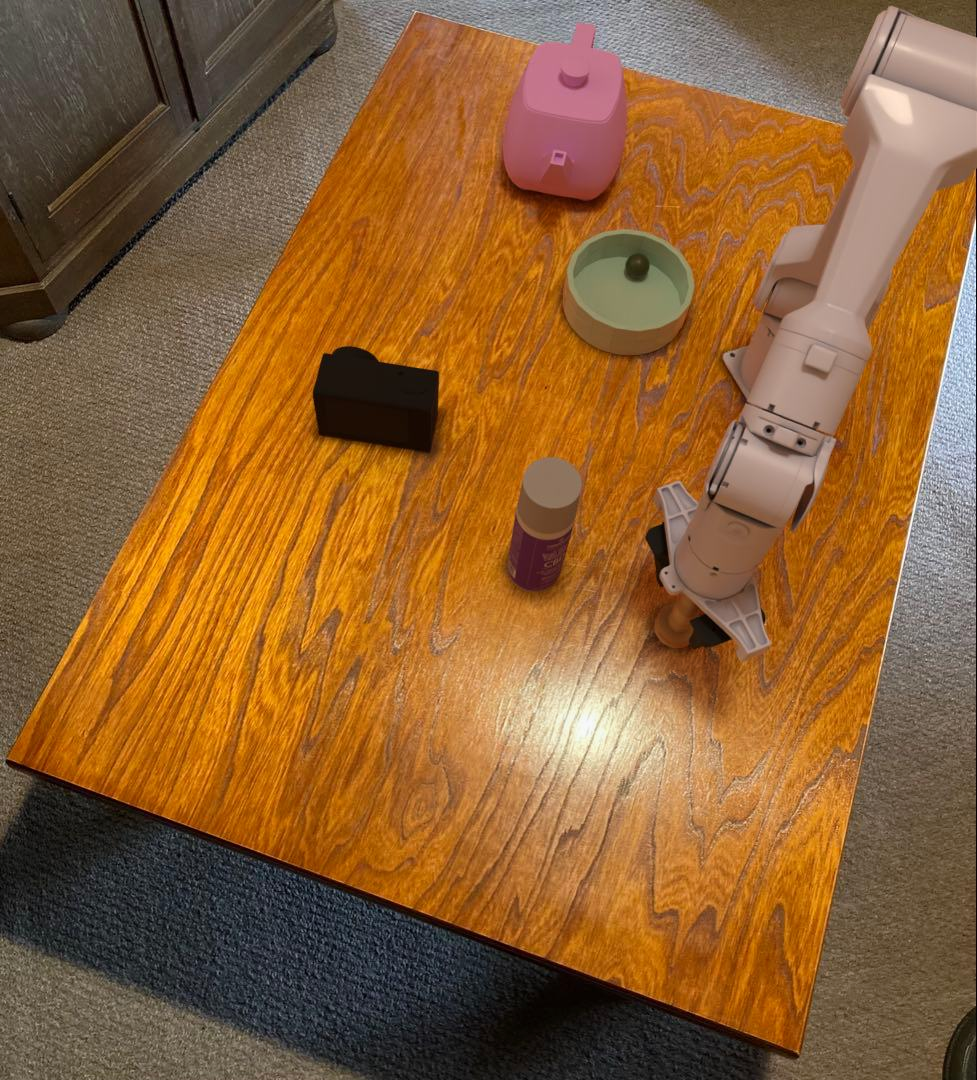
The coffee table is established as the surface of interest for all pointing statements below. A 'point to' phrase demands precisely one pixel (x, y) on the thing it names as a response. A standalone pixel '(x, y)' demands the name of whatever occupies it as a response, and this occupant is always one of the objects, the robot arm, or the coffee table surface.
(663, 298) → the bowl
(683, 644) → the brown piece
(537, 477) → the container
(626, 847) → the coffee table surface
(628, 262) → the olive
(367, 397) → the digital camera
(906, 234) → the robot arm
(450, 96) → the coffee table surface
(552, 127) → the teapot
